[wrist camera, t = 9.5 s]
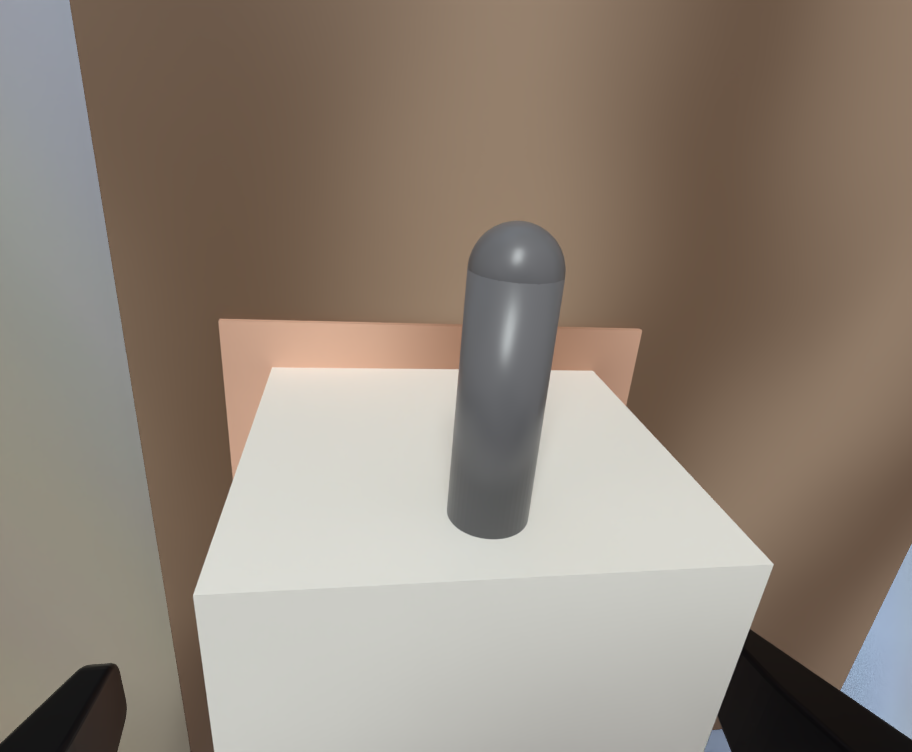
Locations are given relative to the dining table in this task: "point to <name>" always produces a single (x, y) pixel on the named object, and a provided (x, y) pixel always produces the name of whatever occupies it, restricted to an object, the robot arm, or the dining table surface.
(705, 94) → the mounting board
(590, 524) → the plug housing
